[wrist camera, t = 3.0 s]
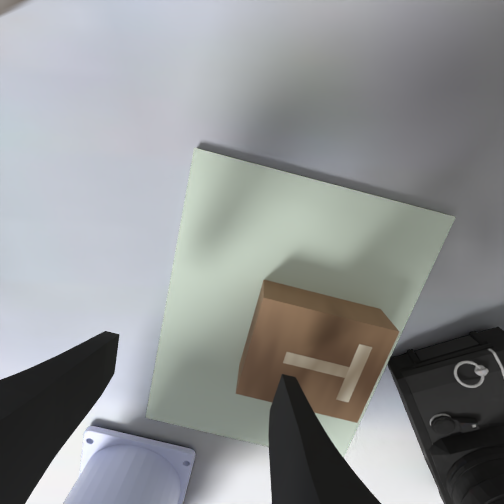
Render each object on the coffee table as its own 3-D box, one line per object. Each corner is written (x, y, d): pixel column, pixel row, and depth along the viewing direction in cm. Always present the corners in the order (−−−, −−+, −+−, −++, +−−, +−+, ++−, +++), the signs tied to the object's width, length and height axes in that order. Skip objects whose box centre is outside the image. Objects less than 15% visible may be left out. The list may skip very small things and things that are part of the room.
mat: (339, 458, 20) (340, 464, 20) (147, 412, 20) (145, 417, 19) (450, 215, 15) (455, 216, 15) (196, 148, 15) (194, 147, 14)
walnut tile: (239, 364, 18) (345, 390, 18) (235, 393, 15) (357, 423, 16) (263, 279, 16) (380, 308, 16) (263, 297, 14) (399, 331, 14)
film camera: (400, 419, 12) (753, 452, 9) (380, 319, 19) (576, 315, 16) (412, 586, 17) (654, 652, 13) (392, 456, 23) (549, 477, 20)
